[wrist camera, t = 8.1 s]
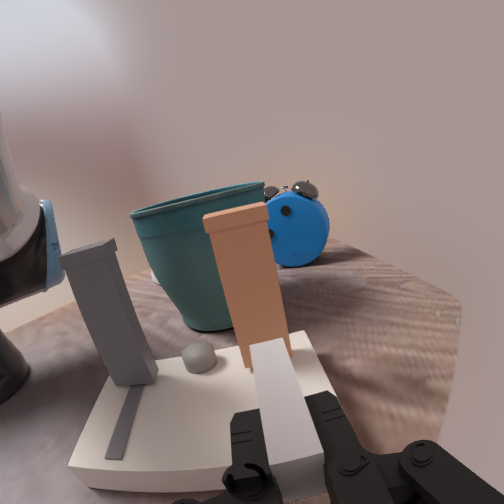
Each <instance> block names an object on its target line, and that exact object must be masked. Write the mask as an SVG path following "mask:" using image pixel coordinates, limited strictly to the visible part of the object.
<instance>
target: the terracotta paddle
mask: <svg viewBox="0 0 504 504" xmlns="http://www.w3.org/2000/svg"><path fill="white" fill-rule="evenodd" d="M268 219H269V214H268V209H267V205H266V204H265V203H264V202H258V203H254V204H249V205H245V206H240V207H236V208H231V209H227V210H222V211H218V212H214V213H210V214H205V215H204V217H203V219H202V220H203V224H204V228H205V232H206V233H209V235H210V239H211V243H212V247H213V251H214V255H215V259H216V263H217V267H218V271H219V275H220V279H221V282H222V286H223V290H224V294H225V298H226V301H227V305H228V309H229V312H230V316H231V320H232V323H233V327H234V331H235V334H236V338H237V341H238V345H239V348H240V352H241V356H242V359H243V362H244V366H245V369H246V368H251V367H253V366H252V360H251V353H250V347H249V345H253V344H257V343H261V342H266V341H270V340H274V339H278V338H283V340H284V343H285V346H286V349H287V352H288V354H289V357H290V358H293V355H292V349H291V344H290V338H289V333H288V328H287V322H286V317H285V312H284V306H283V301H282V296H281V291H280V285H279V280H278V275H277V270H276V265H275V260H274V255H273V250H272V245H271V240H270V235H269V230H268V225H267V220H268Z"/></svg>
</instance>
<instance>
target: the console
mask: <svg viewBox="0 0 504 504" xmlns="http://www.w3.org/2000/svg"><path fill="white" fill-rule="evenodd" d="M289 338H290V344H291V349H292V355H293V358H290V360H291V363H292V365H293V368H294V371H295V374H296V377H297V379H298V382H299V385H300V388H301V390H302V393H303V396H304V397H305V396H309V395H312V394H316V393H319V392H323V391H326V390H328V391H329V392H331V393H332V394H333V395H335V396H336V394H335V392H334V390H333V388H332V386H331V384H330V382H329V379H328V377H327V375H326V373H325V371H324V369H323V367H322V365H321V363H320V361H319V359H318V357H317V355H316V353H315V351H314V349H313V347H312V345H311V343H310V341H309V339H308V337H307V335H306V333H305V331H304V330H302V331H298V332H295V333H291V334H289ZM155 362H156V364H157V367H158V369H159V371H158V374H157V377H156V381H155V383H147V384H138V385H128V386H117V387H116V385H115V384H114V382H113V380H112V378H111V376H110V374H109V376H108V378H107V380H106V382H105V385H104V387H103V389H102V391H101V393H100V395H99V397H98V399H97V401H96V403H95V405H94V407H93V409H92V412H91V414H90V416H89V418H88V420H87V422H86V425H85V427H84V429H83V431H82V433H81V436H80V438H79V440H78V442H77V445H76V447H75V449H74V452H73V454H72V456H71V459H70V461H69V464H68V467H69V468H70V469H71V470H72V471H73V472H74V473H75V474H76V475H77V476H78V477H79V478H80V479H81V480H82V481H83V482H84V483H85V484H86V485H87V486H88V487H90V488H98V489H106V490H117V491H131V492H197V491H211V490H222V489H226V487H225V486H224V484H223V483H222V476H223V473H224V472H225V471H226V469H227V468H228V467H229V466H231V465H232V456H231V438H230V436H231V435H230V422H231V420H232V418H233V416H234V414H235V413H238V412H243V411H248V410H253V409H258V408H259V402H258V396H257V390H256V384H255V378H254V372H253V367H251V368H246V369H245V366H244V362H243V359H242V356H241V352H240V348H239V346H234V347H229V348H224V349H219V350H214V348H213V345H212V344H210V343H208V342H199V343H195V344H192V345H190V346H188V347H186V348H185V349H184V350H183V351H182V353H181V356H180V357H174V358H168V359H162V360H155ZM336 397H337V396H336ZM342 409H343V408H342ZM347 419H348V418H347Z"/></svg>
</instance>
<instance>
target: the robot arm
mask: <svg viewBox="0 0 504 504" xmlns="http://www.w3.org/2000/svg"><path fill="white" fill-rule="evenodd" d="M60 256H62V254H61V250H60V245H59V240H58V234H57V229H56V223H55V218H54V213H53V207H52V203H51V201H49V200H39V201H38V198H37V197H36V195H35V193H34V192H33V191H32V190H31V189H29V188H28V187H26V186H23V185H20V183H19V179H18V177H17V173H16V170H15V167H14V164H13V160H12V157H11V153H10V150H9V146H8V142H7V139H6V135H5V130H4V127H3V122H2V117H1V113H0V308H2V307H4V306H7V305H9V304H12V303H14V302H17V301H19V300H21V299H24V298H26V297H29V296H32V295H35V294H38V293H40V292H46V291H47V290H48V289H49V288H51V287H53V286H56V285H58V284H60V283H61V282H62V281H63V279H64V277H65V269H63V270H62V269H61V266H60V263H59V260H58V257H60ZM249 347H250V353H251V360H252V366H253V372H254V378H255V384H256V390H257V396H258V402H259V408H258V409H253V410H248V411H243V412H238V413H235V414H234V416H233V418H232V420H231V422H230V435H231V436H230V438H231V456H232V465H231V466H229V467H228V468H227V469H226V471H225V472H224V473H223V476H222V483H223V484H224V486H225V487H226V489H227V490H226V491H225V492H223V493H222V494H220V495H218V496H216V497H214V498H211V499H208V500H205V501H203V502H199V501H197V500H193V499H181V500H178V501H175V502H174V503H172V504H284V502H289V501H293V500H298V499H302V498H306V497H310V496H314V495H318V494H321V493H325V492H327V491H328V494H329V497H330V501H331V504H504V495H502V494H501V493H500V492H498V491H497V490H496V489H494V488H493V487H492V486H490V485H489V484H488V483H486V482H485V481H484V480H483V479H481V478H480V477H479V476H477V475H476V474H475V473H474V472H472V471H471V470H470V469H468V468H467V467H466V466H464V465H463V464H462V463H461V462H459V461H458V460H457V459H455V458H454V457H453V456H452V455H450V454H449V453H448V452H447V451H445V450H444V449H443V448H442V447H441V446H439V445H438V444H436V443H435V442H433V441H430V440H419V441H415V442H413V443H411V444H409V445H407V447H406V448H405V449H404V450H403V451H402V452H399V453H392V454H383V455H378V454H373V453H370V452H368V451H366V450H365V449H364V448H363V447H362V446H361V445H360V443H359V441H358V439H357V437H356V435H355V433H354V431H353V429H352V427H351V425H350V423H349V421H348V419H347V416H346V414H345V412H344V410H343V409H342V406H341V404H340V402H339V400H338V398H337V397H336V396H335V395H333V394H332V393H331V392H329V391H328V390H326V391H323V392H319V393H316V394H312V395H309V396H305V397H304V396H303V393H302V390H301V388H300V385H299V382H298V379H297V377H296V374H295V371H294V368H293V365H292V363H291V360H290V357H289V354H288V352H287V349H286V346H285V343H284V340H283V338H278V339H274V340H270V341H266V342H261V343H257V344H253V345H249ZM27 374H28V365H27V363H26V361H25V359H24V357H23V355H22V354H21V352H20V351H19V350H18V349H17V348H16V347H15V346H14V344H13V343H12V342H11V341H10V340H9V339H8V338H7V336H6V335H5V334H4V333H3V332H2V330H1V329H0V403H1V402H3V401H4V400H5V399H7V398H8V397H9V396H11V395H12V394H13V393H14V392H15V391H16V390H17V389H18V388H19V387H20V385H21V384H22V383H23V381H24V380H25V378H26V376H27Z"/></svg>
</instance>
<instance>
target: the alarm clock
mask: <svg viewBox="0 0 504 504" xmlns="http://www.w3.org/2000/svg"><path fill="white" fill-rule="evenodd" d="M282 188H283V189H284V188H288V186H285V187H282ZM291 190H292V191H289V192H284V193H282V194H279V195H278V196H276V197H274V198H273V199H271V198H272V197H273V196H275V195H276V194H277V193H278V192H279V191H280V190H279V189H278V188H277V187H275V186H269V187H266V188H264V195H265V203H266V202H267V201H268V200H270V201H268V202H267V203H266V205H267V209H268V214H269V219H268V220H267V224H268V230H269V235H270V240H271V245H272V250H273V255H274V260H275V262H276V263H278V264H280V265H284V266H289V267H297V266H302V265H305V264H308V263H310V262H312V261H313V260H314V259H316V258H317V257H319V255H320V254H321V252H322V251H323V249H324V247H325V245H326V242H327V238H328V234H329V218H328V214H327V212H326V210H325V208H324V207H323V205H322V204H321V203H320V202H319V201H318V200H317V199H316V198H318V190H317V188H316V187H315V186H314V185H313V184H312V183H310V182H309V180H307V182H306V181H298V182H296V183H294V185H293V186H292V188H291Z"/></svg>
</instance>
